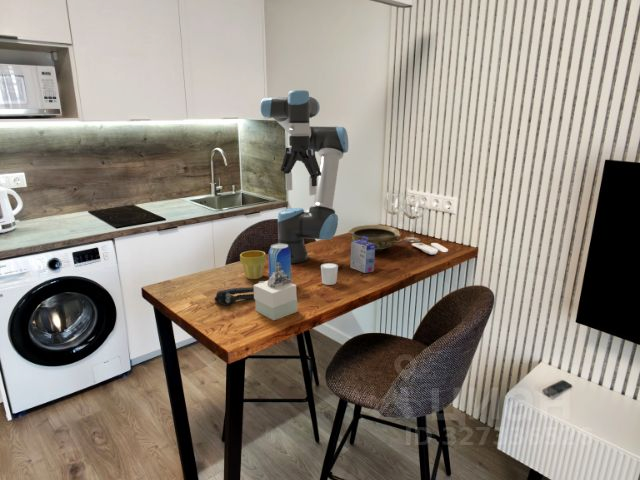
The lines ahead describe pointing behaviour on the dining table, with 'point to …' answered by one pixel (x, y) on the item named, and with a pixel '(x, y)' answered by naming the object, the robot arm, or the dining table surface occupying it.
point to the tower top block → (274, 294)
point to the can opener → (227, 298)
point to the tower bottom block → (276, 309)
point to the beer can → (280, 259)
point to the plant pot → (253, 263)
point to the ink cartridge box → (362, 255)
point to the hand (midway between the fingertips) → (300, 192)
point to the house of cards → (277, 278)
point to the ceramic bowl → (376, 235)
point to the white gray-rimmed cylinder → (329, 273)
